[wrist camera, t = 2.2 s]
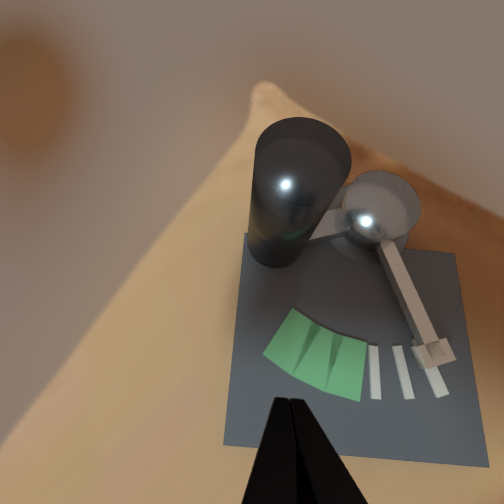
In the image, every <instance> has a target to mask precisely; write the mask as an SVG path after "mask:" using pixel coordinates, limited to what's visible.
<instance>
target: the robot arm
mask: <svg viewBox="0 0 504 504" xmlns="http://www.w3.org/2000/svg"><path fill="white" fill-rule="evenodd" d="M241 504H368V503H367V501H366V499H365V498H364V496H363V495H362V493H361V491H360V490H359V488H358V486H357V485H356V483H355V481H354V480H353V478H352V477H351V475H350V473H349V472H348V470H347V468H346V467H345V465H344V463H343V462H342V460H341V459H340V457H339V455H338V454H337V452H336V450H335V449H334V447H333V445H332V444H331V442H330V441H329V439H328V437H327V436H326V434H325V432H324V431H323V429H322V428H321V426H320V424H319V423H318V421H317V419H316V418H315V416H314V414H313V413H312V411H311V410H310V408H309V406H308V405H307V403H306V401H305V400H304V399H300V398H290V399H288V398H286V397H275V398H274V399H273V402H272V405H271V409H270V412H269V415H268V418H267V422H266V425H265V428H264V432H263V435H262V438H261V441H260V445H259V448H258V451H257V454H256V458H255V461H254V464H253V467H252V471H251V474H250V477H249V480H248V484H247V487H246V490H245V493H244V497H243V500H242V503H241Z"/></svg>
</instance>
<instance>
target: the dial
mask: <svg viewBox="0 0 504 504" xmlns="http://www.w3.org/2000/svg"><path fill="white" fill-rule="evenodd" d="M350 169H351V154H350V150H349V147H348V145H347V143H346V142H345V140H344V139H343V137H342V136H341V135H340V134H339V133H338V132H337V131H336V130H335V129H333V128H332V127H330V126H329V125H327V124H325V123H323V122H321V121H318V120H315V119H311V118H305V117H293V118H286V119H283V120H280V121H277V122H275V123H273V124H272V125H270V126H269V127H268V128H267V129H265V130H264V132H263V133H262V134H261V135H260V137H259V139H258V141H257V144H256V148H255V159H254V170H253V181H252V192H251V203H250V214H249V225H248V236H247V245H248V249H249V252H250V253H251V255H252V257H253V258H254V259H255V260H256V261H257V262H259V263H260V264H262V265H264V266H266V267H270V268H283V267H286V266H289V265H291V264H292V263H294V262H295V261H296V260H297V259H298V257H299V256H300V254H301V252H302V251H303V249H304V248H305V246H307V245H311V244H315V243H319V242H324V241H328V240H332V239H336V238H340V237H344V238H345V239H346V240H347V241H348V242H349V243H351V244H352V245H354V246H356V247H358V248H361V249H365V250H376V251H377V254H378V256H379V258H380V260H381V263H382V265H383V267H384V270H385V272H386V274H387V277H388V279H389V281H390V283H391V286H392V288H393V290H394V293H395V295H396V297H397V299H398V302H399V304H400V306H401V309H402V311H403V313H404V316H405V318H406V320H407V322H408V325H409V327H410V329H411V332H412V334H413V336H414V339H415V341H416V343H417V345H415V346H412V347H410V348H411V350H412V352H413V355H414V357H415V359H416V362H417V364H418V366H419V369H429V368H432V367H436V366H439V365H442V364H445V363H448V362H451V361H454V360H456V358H455V356H454V354H453V351H452V349H451V347H450V345H449V343H448V341H447V339H446V338H438V337H437V335H436V332H435V330H434V328H433V326H432V324H431V322H430V319H429V317H428V315H427V313H426V311H425V309H424V306H423V304H422V302H421V300H420V298H419V296H418V293H417V291H416V289H415V287H414V285H413V283H412V280H411V278H410V276H409V274H408V272H407V270H406V267H405V265H404V263H403V261H402V259H401V257H400V254H399V252H398V250H397V248H396V246H395V244H394V242H395V241H396V240H397V239H399V238H400V237H401V236H403V235H404V234H405V233H407V232H408V231H409V230H411V229H412V228H413V227H414V226H415V225H416V223H417V222H418V220H419V217H420V212H421V206H420V201H419V198H418V196H417V194H416V192H415V190H414V189H413V188H412V186H411V185H410V184H409V183H408V182H406V181H405V180H404V179H402V178H401V177H399V176H397V175H395V174H393V173H390V172H386V171H369V172H366V173H363V174H361V175H360V176H358V177H357V178H356V179H355V180H354V181H353V182H352V184H351V185H350V187H349V188H348V190H347V191H346V193H345V194H344V196H343V197H342V199H341V200H340V202H339V203H338V205H337V207H336V209H333V210H329V211H327V210H328V208H329V206H330V205H331V203H332V202H333V200H334V198H335V197H336V195H337V193H338V192H339V190H340V188H341V187H342V185H343V183H344V182H345V180H346V179H347V177H348V175H349V172H350Z"/></svg>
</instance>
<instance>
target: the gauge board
mask: <svg viewBox="0 0 504 504" xmlns="http://www.w3.org/2000/svg"><path fill="white" fill-rule="evenodd" d="M349 187H350V185H347V186H344V187H342V188H340V190H339V192H338V193H337V195H336V197H335V198H334V200H333V202H332V203H331V205H330V206H329V208H328V210H327V211H329V210H333V209H336V207H337V205H338V203H339V202H340V200H341V199H342V197H343V196H344V194H345V193H346V191H347V190H348V188H349ZM247 236H248V233H245V237H244V247H243V256H242V266H241V276H240V286H239V296H238V305H237V315H236V325H235V335H234V345H233V354H232V364H231V374H230V384H229V394H228V404H227V413H226V423H225V433H224V443H223V445H228V446H240V447H252V448H259V445H260V441H261V438H262V435H263V432H264V428H265V425H266V422H267V418H268V415H269V412H270V409H271V405H272V402H273V399H274V398H275V397H286V398H288V399H290V398H300V399H304V400H305V401H306V403H307V405H308V406H309V408H310V410H311V411H312V413H313V414H314V416H315V418H316V419H317V421H318V423H319V424H320V426H321V428H322V429H323V431H324V432H325V434H326V436H327V437H328V439H329V441H330V442H331V444H332V445H333V447H334V449H335V450H336V452H337V454H338V455H346V456H357V457H369V458H381V459H392V460H404V461H416V462H428V463H439V464H451V465H463V466H475V467H486V468H490V467H489V461H488V455H487V449H486V442H485V436H484V430H483V424H482V418H481V412H480V406H479V400H478V394H477V388H476V382H475V376H474V370H473V364H472V357H471V351H470V345H469V339H468V333H467V327H466V321H465V315H464V309H463V303H462V297H461V291H460V285H459V279H458V273H457V266H456V260H455V254H454V253H445V252H435V251H425V250H414V249H404V247H405V245H406V243H407V240H408V236H409V231H408V232H407V233H405V234H404V235H403V236H401V237H400V238H399V239H397V240H396V241H395V242H394V244H395V246H396V248H397V250H398V252H399V254H400V257H401V259H402V261H403V263H404V265H405V267H406V270H407V272H408V274H409V276H410V278H411V280H412V283H413V285H414V287H415V289H416V291H417V293H418V296H419V298H420V300H421V302H422V304H423V306H424V309H425V311H426V313H427V315H428V317H429V319H430V322H431V324H432V326H433V328H434V330H435V332H436V335H437V337H438V338H446V339H447V341H448V343H449V345H450V347H451V349H452V351H453V354H454V356H455V358H456V360H454V361H451V362H448V363H445V364H442V365H439V366H436V367H432V368H429V369H419V366H418V364H417V362H416V359H415V357H414V355H413V352H412V350H411V348H410V347H412V346H415V345H417V343H416V341H415V339H414V336H413V334H412V332H411V329H410V327H409V325H408V322H407V320H406V318H405V316H404V313H403V311H402V309H401V306H400V304H399V302H398V299H397V297H396V295H395V293H394V290H393V288H392V286H391V283H390V281H389V279H388V277H387V274H386V272H385V270H384V267H383V265H382V263H381V260H380V258H379V256H378V254H377V251H376V250H365V249H361V248H358V247H356V246H354V245H352V244H351V243H349V242H348V241H347V240H346V239H345V238H344V237H340V238H336V239H332V240H328V241H324V242H319V243H315V244H311V245H307V246H305V248H304V249H303V251H302V252H301V254H300V256H299V257H298V259H297V260H296V261H295V262H294V263H292V264H291V265H289V266H286V267H283V268H270V267H266V266H264V265H262V264H260V263H259V262H257V261H256V260H255V259H254V258H253V257H252V255H251V253H250V252H249V249H248V245H247Z"/></svg>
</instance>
